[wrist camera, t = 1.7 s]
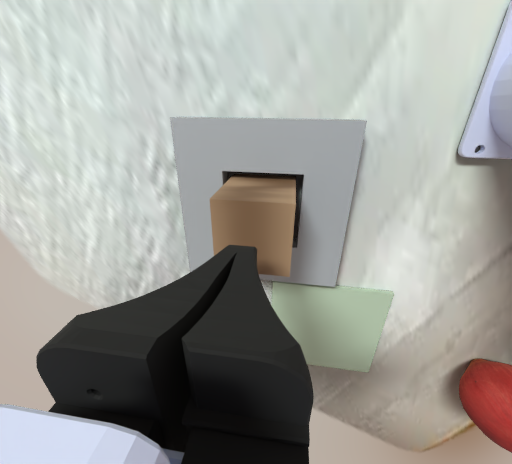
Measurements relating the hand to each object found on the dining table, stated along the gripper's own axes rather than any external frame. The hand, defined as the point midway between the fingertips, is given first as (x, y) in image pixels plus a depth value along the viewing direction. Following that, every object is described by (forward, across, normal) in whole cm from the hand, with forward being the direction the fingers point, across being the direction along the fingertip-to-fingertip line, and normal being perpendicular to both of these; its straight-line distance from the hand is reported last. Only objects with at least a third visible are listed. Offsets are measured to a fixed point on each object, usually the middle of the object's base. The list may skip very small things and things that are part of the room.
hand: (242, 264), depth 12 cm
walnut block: (+8, 0, 0) cm, 8 cm away
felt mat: (+8, -6, +12) cm, 16 cm away
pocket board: (+8, 0, 0) cm, 8 cm away
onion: (+8, -20, +14) cm, 26 cm away
